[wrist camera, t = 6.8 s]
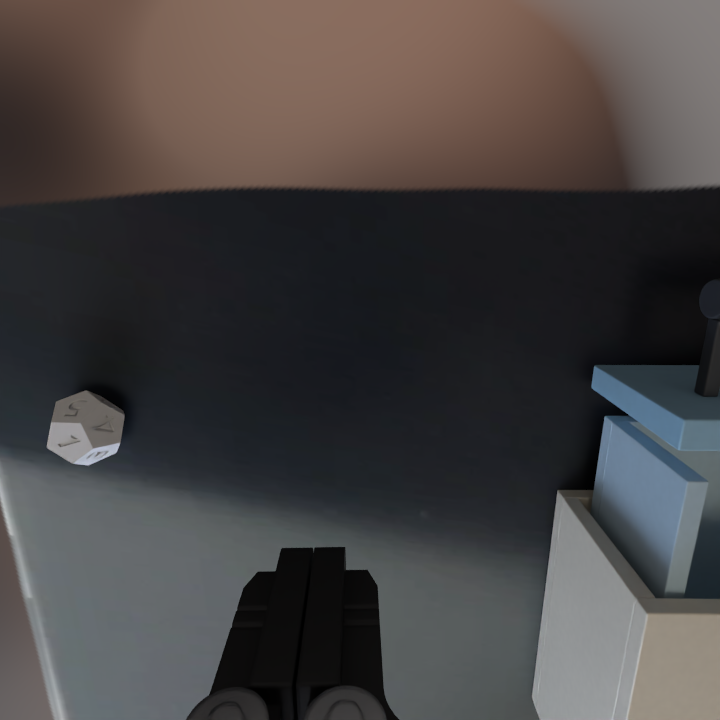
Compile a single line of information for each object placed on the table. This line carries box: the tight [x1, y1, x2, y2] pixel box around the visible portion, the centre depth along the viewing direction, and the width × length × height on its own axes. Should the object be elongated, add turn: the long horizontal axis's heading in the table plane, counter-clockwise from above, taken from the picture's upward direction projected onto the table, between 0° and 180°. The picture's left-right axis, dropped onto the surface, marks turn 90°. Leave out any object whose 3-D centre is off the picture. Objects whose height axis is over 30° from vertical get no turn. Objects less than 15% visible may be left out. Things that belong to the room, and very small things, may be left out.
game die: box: [47, 390, 125, 465], centre depth 24 cm, size 4×4×3 cm
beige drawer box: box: [532, 490, 720, 720], centre depth 24 cm, size 15×12×9 cm
